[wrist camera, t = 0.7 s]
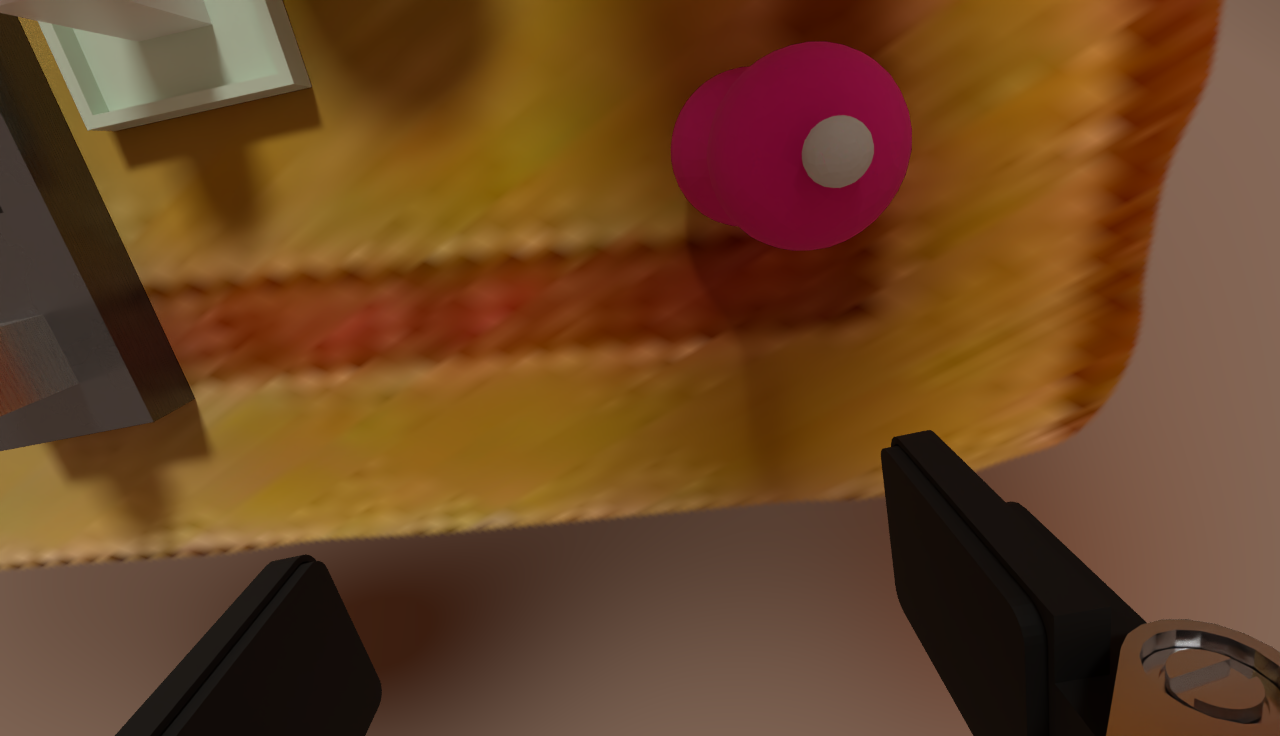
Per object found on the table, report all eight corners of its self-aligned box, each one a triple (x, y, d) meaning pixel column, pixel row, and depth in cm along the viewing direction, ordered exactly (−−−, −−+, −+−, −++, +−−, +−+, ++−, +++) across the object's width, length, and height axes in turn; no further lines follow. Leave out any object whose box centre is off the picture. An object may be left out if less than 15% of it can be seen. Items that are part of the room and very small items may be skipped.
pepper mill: (827, 124, 34) (1062, 96, 15) (751, 241, 36) (874, 346, 17) (714, 47, 33) (815, -88, 14) (642, 173, 35) (644, 205, 16)
